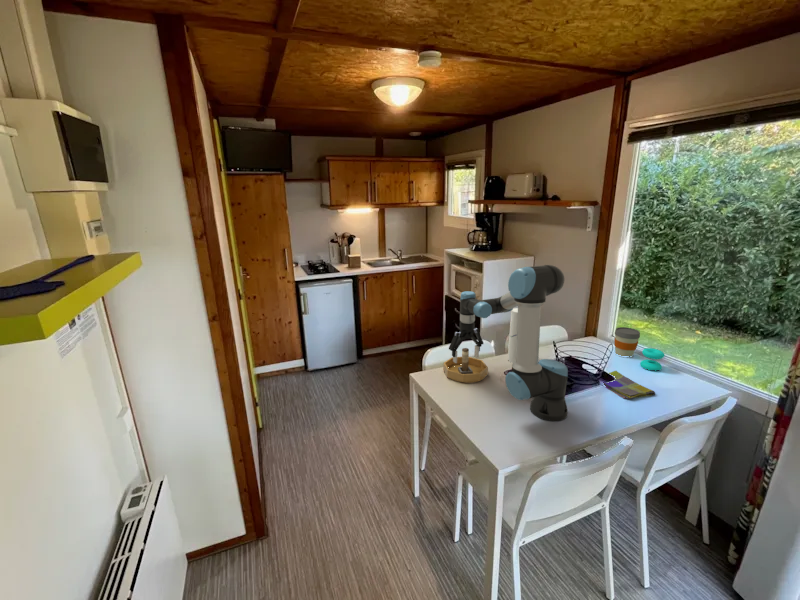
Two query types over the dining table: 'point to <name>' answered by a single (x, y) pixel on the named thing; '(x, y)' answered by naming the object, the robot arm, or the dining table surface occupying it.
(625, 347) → the reusable coffee cup
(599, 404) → the dining table surface
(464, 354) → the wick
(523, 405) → the dining table surface
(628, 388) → the dish towel
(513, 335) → the container
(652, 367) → the donuts
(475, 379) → the octagonal shallow tray
